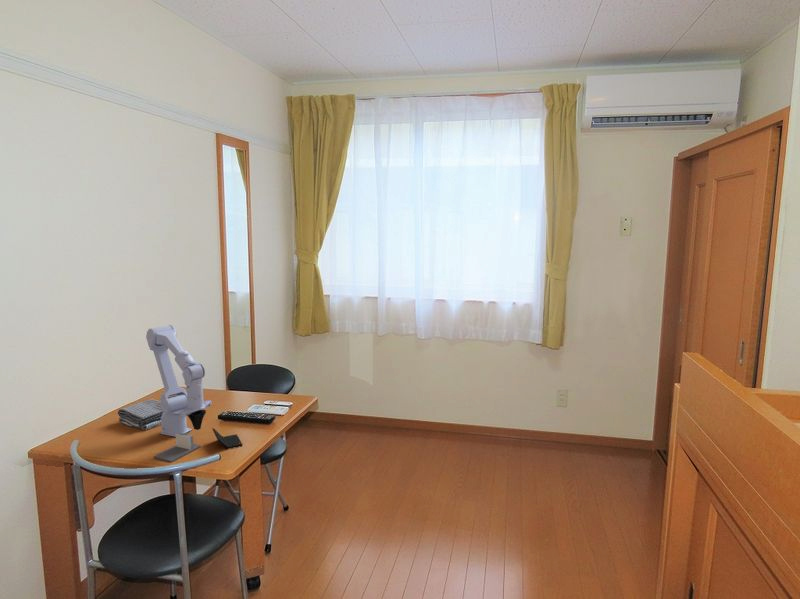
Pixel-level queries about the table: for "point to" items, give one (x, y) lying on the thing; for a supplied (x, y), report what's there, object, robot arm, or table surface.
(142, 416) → the towel
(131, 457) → the table surface
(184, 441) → the card deck
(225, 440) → the handheld gaming console
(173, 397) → the robot arm
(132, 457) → the table surface
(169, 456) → the grey rectangular slab
